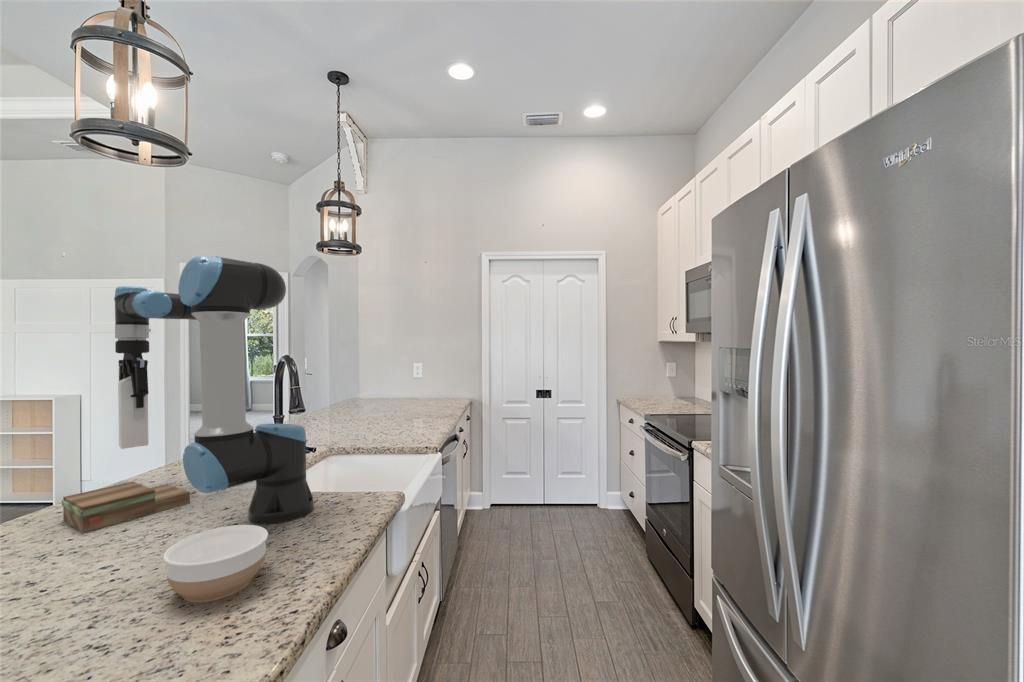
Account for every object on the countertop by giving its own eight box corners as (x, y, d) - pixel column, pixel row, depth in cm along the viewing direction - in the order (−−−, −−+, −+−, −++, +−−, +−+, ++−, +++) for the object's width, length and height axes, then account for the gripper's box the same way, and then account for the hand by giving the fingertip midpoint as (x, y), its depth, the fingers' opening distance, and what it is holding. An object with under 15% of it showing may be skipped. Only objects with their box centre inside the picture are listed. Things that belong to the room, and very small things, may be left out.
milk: (121, 449, 124) (119, 371, 124) (118, 445, 128) (117, 370, 128) (149, 445, 129) (147, 370, 129) (145, 442, 133) (144, 369, 133)
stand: (190, 503, 122) (190, 481, 122) (82, 533, 103) (81, 508, 103) (167, 494, 130) (167, 473, 130) (61, 521, 110) (61, 497, 110)
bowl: (265, 555, 92) (265, 518, 92) (271, 592, 78) (271, 548, 78) (169, 578, 83) (169, 536, 83) (157, 624, 70) (156, 574, 70)
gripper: (162, 339, 127) (163, 419, 127) (135, 340, 137) (135, 413, 137) (129, 339, 120) (130, 423, 120) (103, 340, 130) (104, 417, 130)
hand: (133, 418), depth 128 cm, fingers closed on milk, 7 cm apart
